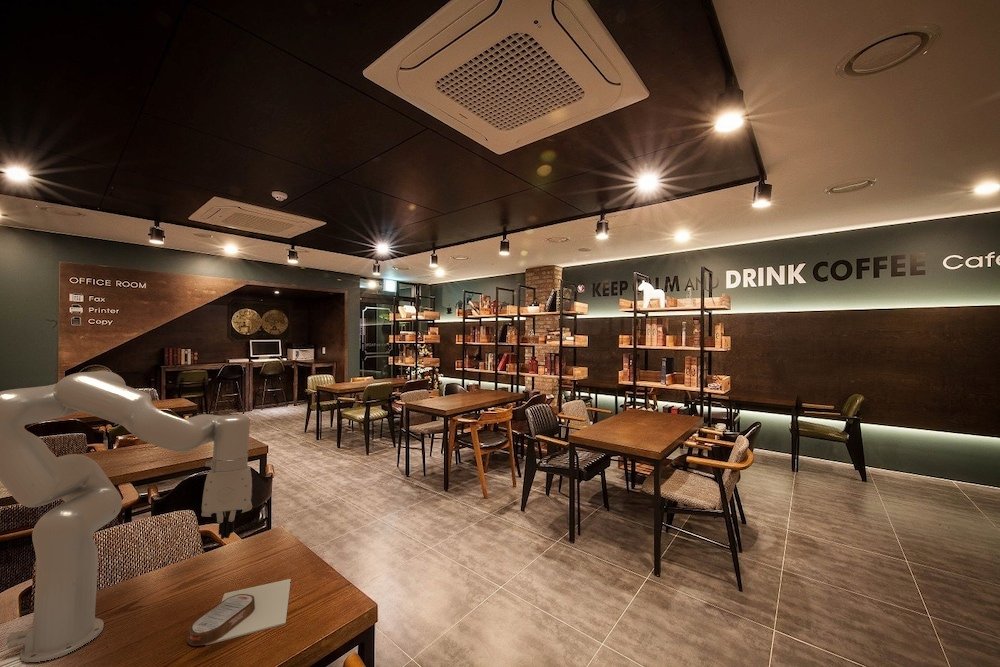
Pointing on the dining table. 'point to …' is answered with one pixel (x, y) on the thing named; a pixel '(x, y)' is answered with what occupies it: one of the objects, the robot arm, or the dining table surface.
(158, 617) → the dining table surface
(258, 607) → the mat
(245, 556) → the dining table surface
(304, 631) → the dining table surface
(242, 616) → the tin
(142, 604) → the dining table surface
